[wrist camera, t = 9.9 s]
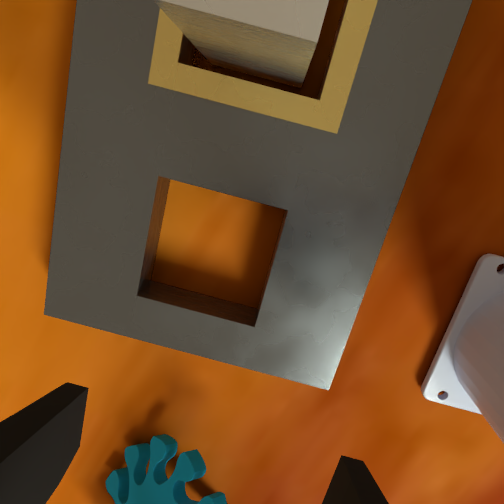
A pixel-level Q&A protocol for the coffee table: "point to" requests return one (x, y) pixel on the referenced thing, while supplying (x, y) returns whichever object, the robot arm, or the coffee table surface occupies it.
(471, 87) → the coffee table surface
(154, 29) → the hole plate
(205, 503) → the teal lobed piece
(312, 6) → the steel peg
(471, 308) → the robot arm
